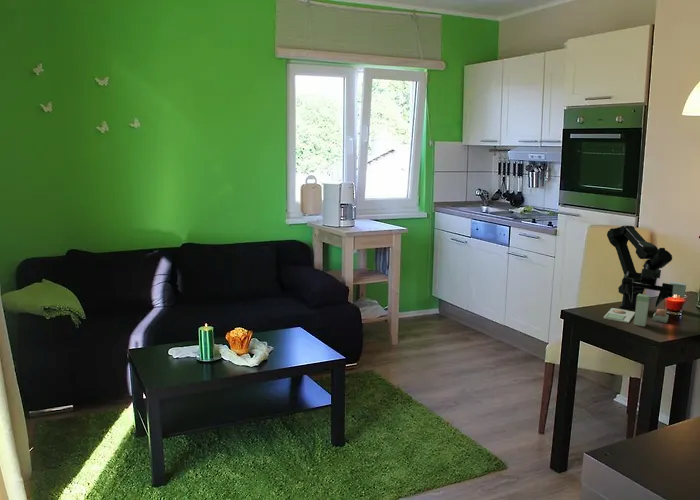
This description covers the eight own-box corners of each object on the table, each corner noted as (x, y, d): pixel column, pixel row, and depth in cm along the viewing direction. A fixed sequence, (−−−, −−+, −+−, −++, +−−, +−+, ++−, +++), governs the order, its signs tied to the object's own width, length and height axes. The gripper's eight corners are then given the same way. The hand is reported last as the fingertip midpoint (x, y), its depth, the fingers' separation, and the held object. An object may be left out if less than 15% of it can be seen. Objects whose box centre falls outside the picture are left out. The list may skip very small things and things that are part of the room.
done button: (656, 312, 255) (657, 308, 255) (666, 314, 253) (667, 309, 253) (655, 314, 252) (656, 310, 252) (665, 316, 250) (665, 311, 250)
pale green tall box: (635, 322, 249) (639, 293, 247) (645, 324, 247) (649, 295, 245) (633, 324, 246) (637, 295, 244) (644, 326, 244) (648, 297, 242)
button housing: (654, 317, 257) (654, 312, 256) (667, 320, 254) (668, 314, 254) (652, 320, 253) (653, 315, 252) (666, 323, 250) (667, 317, 249)
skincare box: (666, 310, 269) (670, 283, 267) (665, 307, 273) (669, 281, 271) (682, 312, 267) (686, 285, 264) (681, 309, 271) (685, 282, 269)
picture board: (611, 309, 267) (611, 307, 267) (635, 313, 262) (635, 311, 262) (603, 318, 252) (603, 316, 252) (628, 323, 247) (628, 321, 247)
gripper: (625, 257, 252) (617, 289, 245) (676, 264, 242) (669, 297, 235) (626, 273, 260) (618, 304, 253) (675, 280, 250) (669, 312, 243)
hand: (643, 304), depth 245 cm, fingers open, 9 cm apart
